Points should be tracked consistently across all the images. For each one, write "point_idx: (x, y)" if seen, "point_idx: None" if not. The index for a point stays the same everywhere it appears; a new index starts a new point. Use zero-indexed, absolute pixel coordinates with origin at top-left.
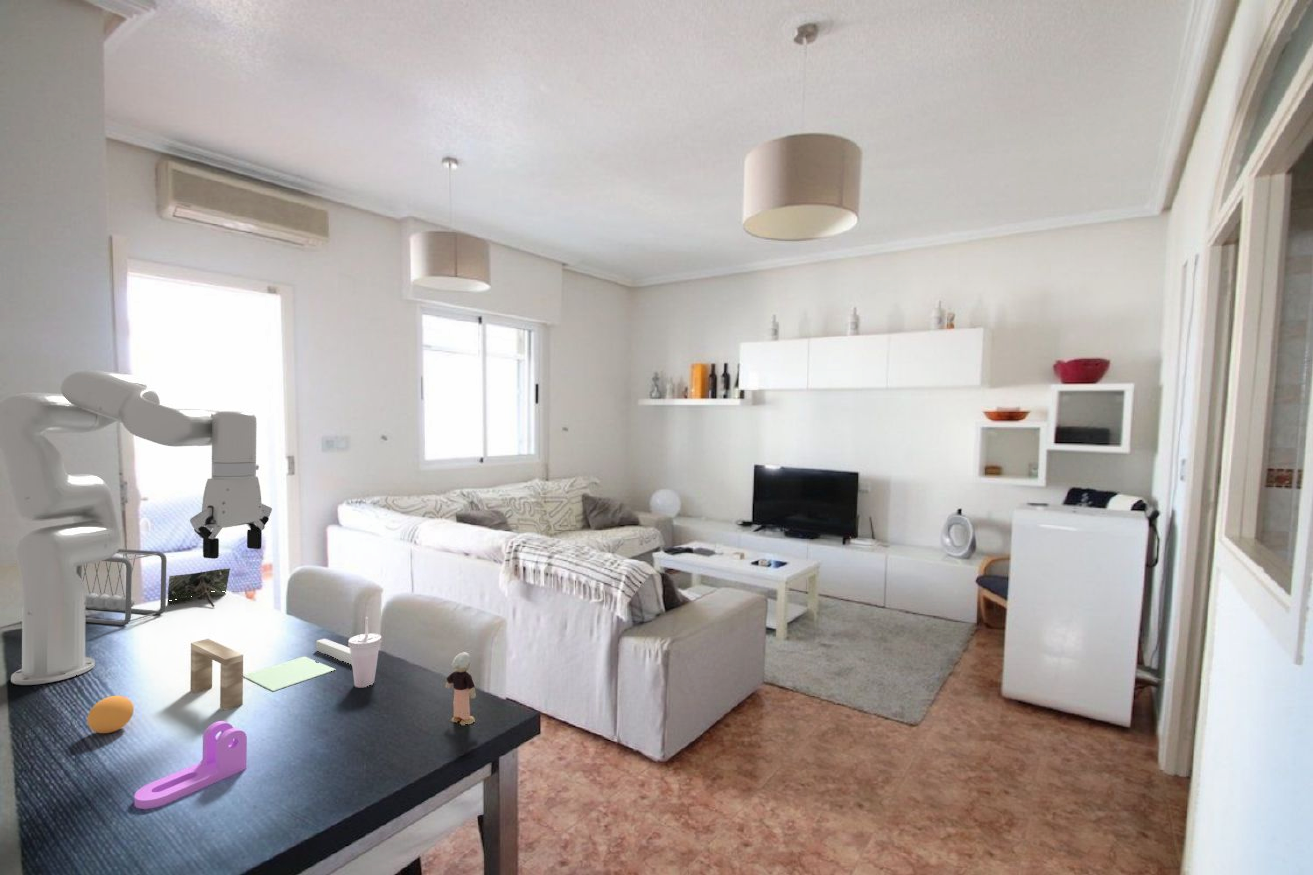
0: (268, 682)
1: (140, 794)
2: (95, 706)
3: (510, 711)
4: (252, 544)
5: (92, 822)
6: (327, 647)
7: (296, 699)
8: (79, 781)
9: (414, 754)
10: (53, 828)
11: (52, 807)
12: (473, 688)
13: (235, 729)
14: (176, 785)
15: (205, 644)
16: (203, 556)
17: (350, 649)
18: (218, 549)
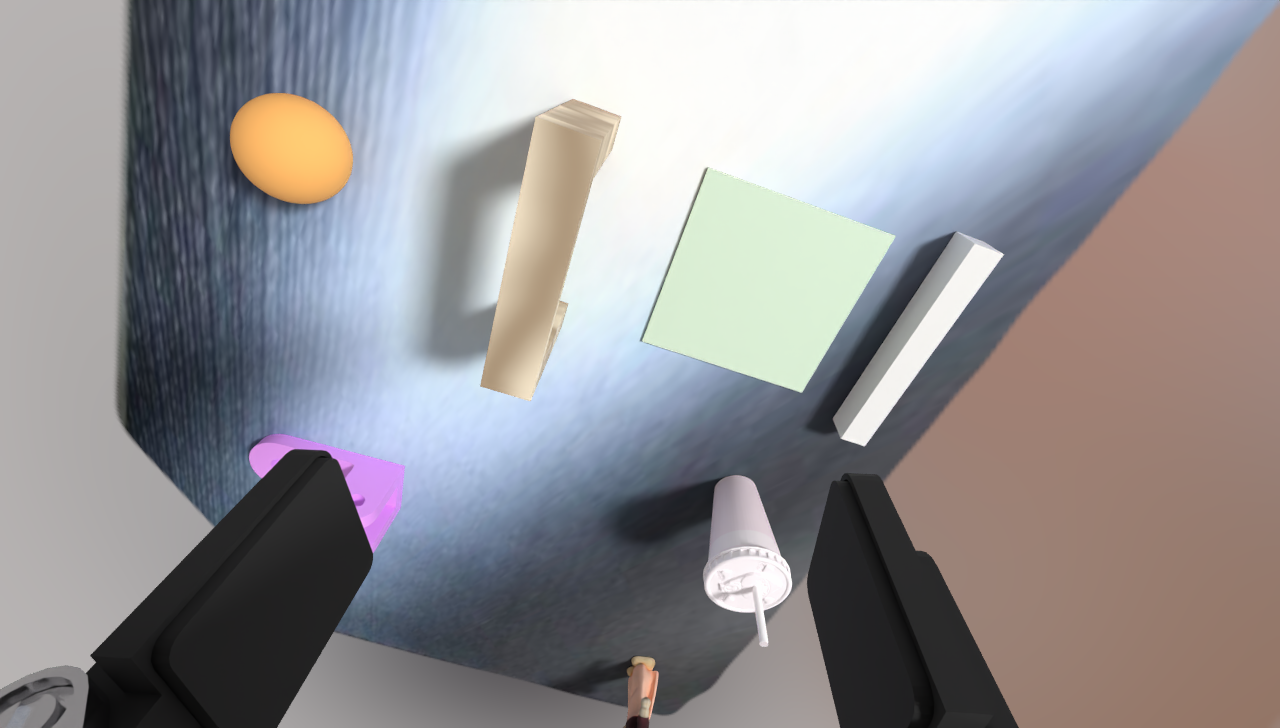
0: (681, 291)
1: (257, 456)
2: (231, 144)
3: (687, 700)
4: (829, 569)
5: (206, 431)
6: (923, 309)
7: (623, 416)
8: (217, 305)
9: (535, 652)
10: (164, 397)
11: (170, 343)
12: None
13: None
14: None
15: (547, 197)
16: (291, 454)
17: (716, 550)
18: (328, 634)
